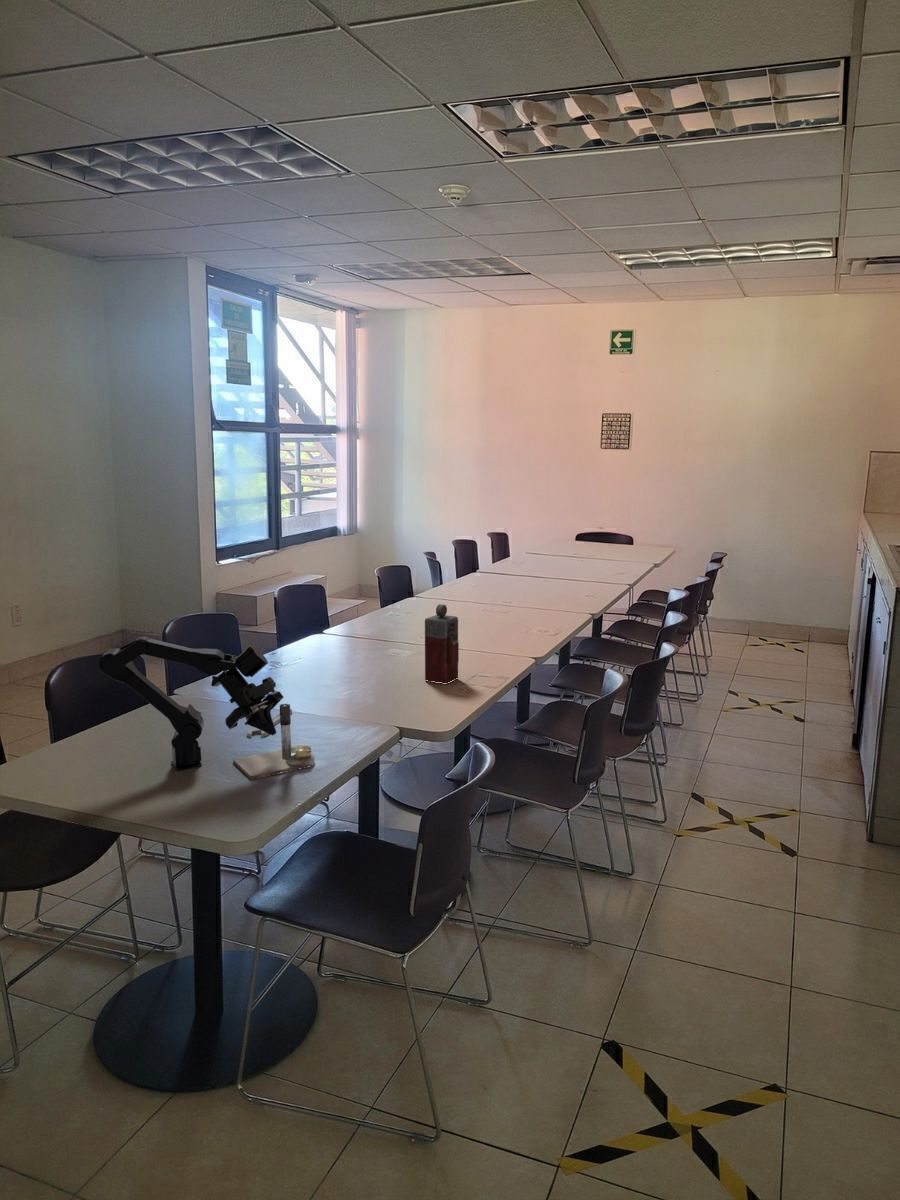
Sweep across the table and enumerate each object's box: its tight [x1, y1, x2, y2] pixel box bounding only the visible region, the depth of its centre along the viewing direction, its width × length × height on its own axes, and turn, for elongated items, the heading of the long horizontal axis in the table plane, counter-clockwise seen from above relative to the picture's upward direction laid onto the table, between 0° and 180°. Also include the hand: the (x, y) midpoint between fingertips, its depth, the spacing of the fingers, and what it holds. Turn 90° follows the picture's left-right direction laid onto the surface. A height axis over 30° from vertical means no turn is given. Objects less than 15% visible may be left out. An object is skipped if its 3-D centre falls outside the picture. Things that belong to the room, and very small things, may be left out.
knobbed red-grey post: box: [424, 603, 460, 683], centre depth 305 cm, size 9×11×28 cm
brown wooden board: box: [232, 749, 316, 780], centre depth 228 cm, size 19×14×2 cm
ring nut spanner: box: [279, 703, 312, 760], centre depth 224 cm, size 10×6×16 cm, turn 156°
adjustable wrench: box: [246, 708, 293, 738], centre depth 260 cm, size 25×6×2 cm, turn 162°
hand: (274, 734), depth 222 cm, fingers closed
